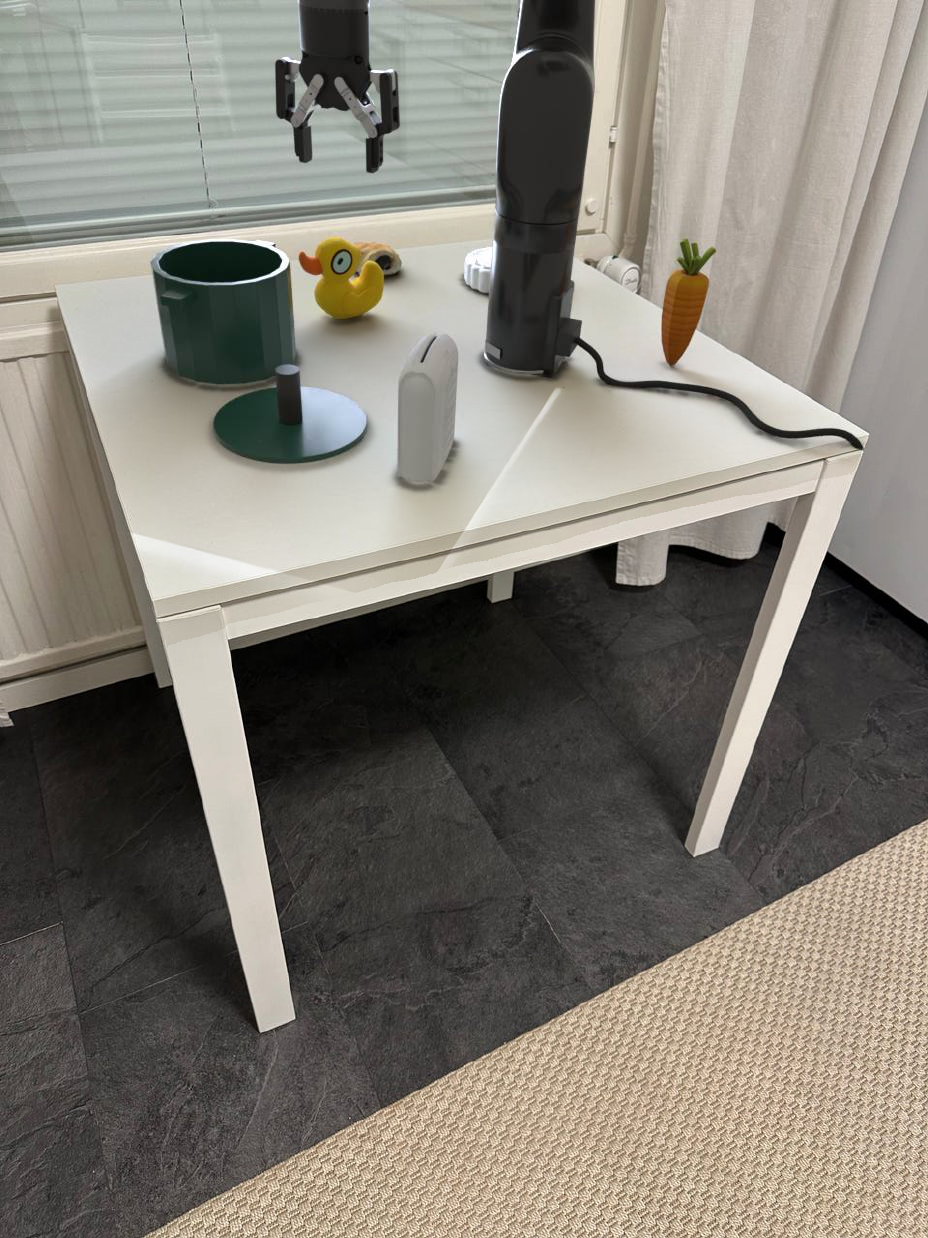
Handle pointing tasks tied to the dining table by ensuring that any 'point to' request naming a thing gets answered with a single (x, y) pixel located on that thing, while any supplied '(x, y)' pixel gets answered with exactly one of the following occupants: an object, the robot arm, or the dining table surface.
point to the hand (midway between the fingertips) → (339, 166)
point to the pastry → (379, 257)
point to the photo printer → (427, 407)
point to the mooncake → (478, 269)
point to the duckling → (343, 279)
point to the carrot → (684, 302)
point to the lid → (290, 422)
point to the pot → (225, 310)
